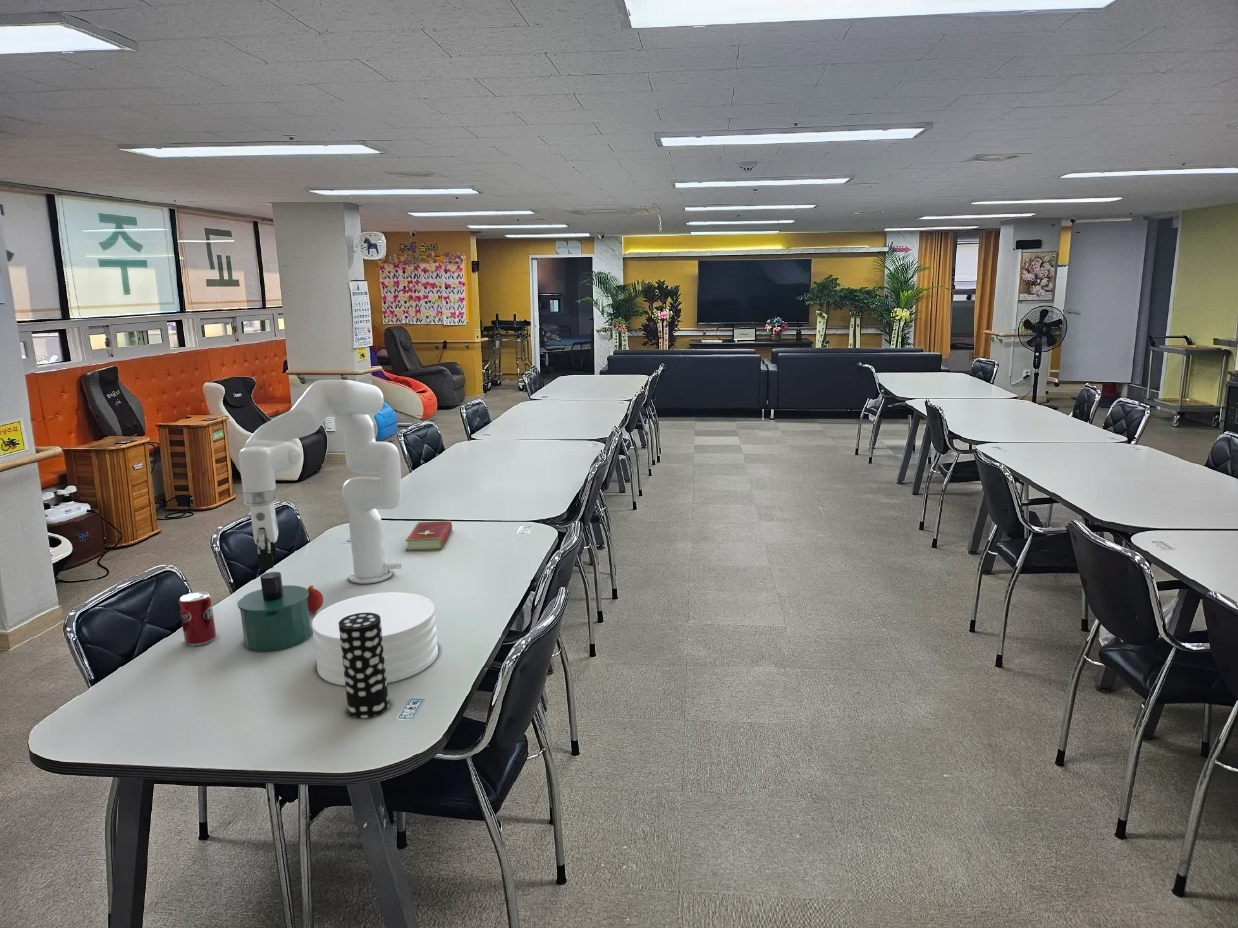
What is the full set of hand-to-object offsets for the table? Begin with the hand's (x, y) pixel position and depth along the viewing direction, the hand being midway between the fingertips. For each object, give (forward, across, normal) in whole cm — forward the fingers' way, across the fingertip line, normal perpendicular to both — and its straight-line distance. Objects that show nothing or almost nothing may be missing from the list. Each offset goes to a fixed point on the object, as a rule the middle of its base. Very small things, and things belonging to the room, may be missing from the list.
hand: (268, 562), depth 207 cm
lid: (+10, 0, 0) cm, 10 cm away
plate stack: (+21, -22, -24) cm, 39 cm away
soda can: (+21, +6, +19) cm, 29 cm away
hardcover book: (+20, +68, -45) cm, 84 cm away
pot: (+20, 0, 0) cm, 21 cm away
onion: (+20, +14, -8) cm, 26 cm away
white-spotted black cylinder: (+21, -46, -21) cm, 55 cm away
